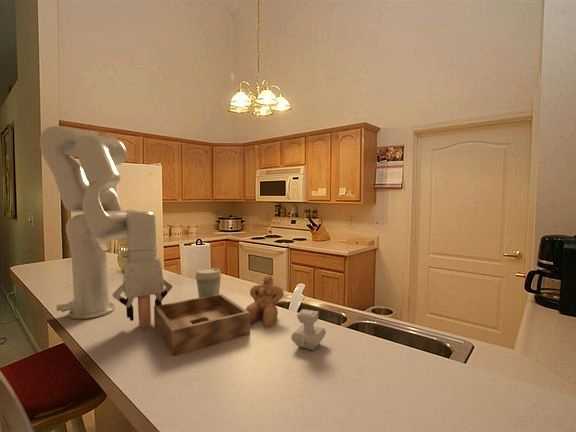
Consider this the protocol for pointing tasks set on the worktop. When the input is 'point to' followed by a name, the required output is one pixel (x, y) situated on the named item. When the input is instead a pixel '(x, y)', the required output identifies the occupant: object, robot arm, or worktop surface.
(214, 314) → the bore box
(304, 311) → the stamp
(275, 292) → the figurine
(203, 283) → the coffee cup
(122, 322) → the worktop surface
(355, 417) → the worktop surface
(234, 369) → the worktop surface
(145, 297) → the peg
